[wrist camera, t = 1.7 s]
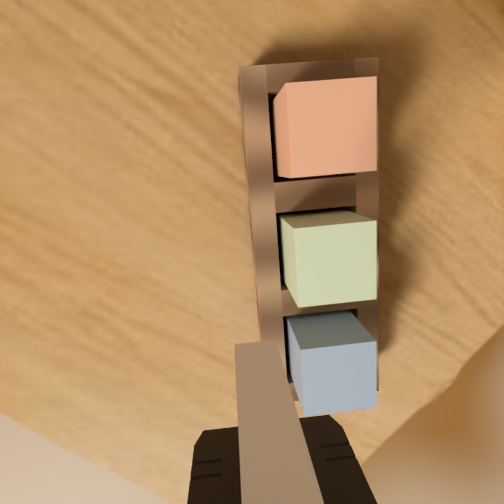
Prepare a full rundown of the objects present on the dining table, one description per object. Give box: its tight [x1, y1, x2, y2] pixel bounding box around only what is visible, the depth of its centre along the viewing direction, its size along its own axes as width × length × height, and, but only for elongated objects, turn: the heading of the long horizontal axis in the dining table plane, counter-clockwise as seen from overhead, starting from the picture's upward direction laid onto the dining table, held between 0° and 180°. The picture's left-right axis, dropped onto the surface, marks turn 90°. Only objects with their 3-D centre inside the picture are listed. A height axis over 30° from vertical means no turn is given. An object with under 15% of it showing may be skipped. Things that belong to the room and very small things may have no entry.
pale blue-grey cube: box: [286, 309, 376, 417], centre depth 31 cm, size 6×6×7 cm
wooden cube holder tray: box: [238, 56, 379, 401], centre depth 33 cm, size 30×11×4 cm, turn 5°
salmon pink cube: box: [272, 76, 377, 178], centre depth 27 cm, size 6×6×7 cm
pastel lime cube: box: [279, 209, 377, 308], centre depth 29 cm, size 6×6×7 cm
